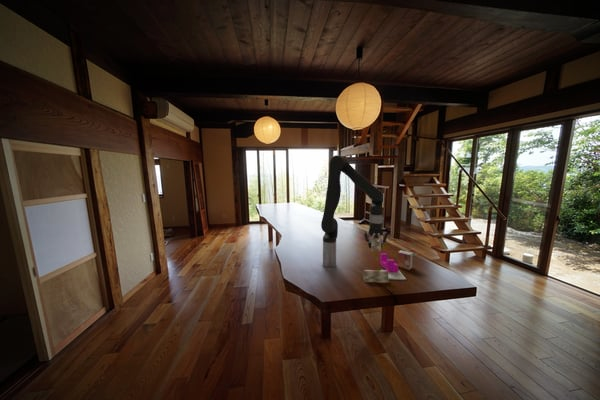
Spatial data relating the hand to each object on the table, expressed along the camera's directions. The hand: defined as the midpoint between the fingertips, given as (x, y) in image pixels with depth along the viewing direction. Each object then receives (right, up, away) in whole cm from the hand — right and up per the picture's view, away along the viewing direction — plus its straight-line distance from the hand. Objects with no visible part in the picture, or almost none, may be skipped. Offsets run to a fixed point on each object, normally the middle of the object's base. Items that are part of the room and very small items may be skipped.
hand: (375, 248), depth 129 cm
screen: (-2, -18, -5) cm, 19 cm away
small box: (+25, -16, +12) cm, 32 cm away
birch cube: (0, -1, 0) cm, 1 cm away
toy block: (+13, -16, +10) cm, 23 cm away
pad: (+11, -17, +1) cm, 21 cm away
